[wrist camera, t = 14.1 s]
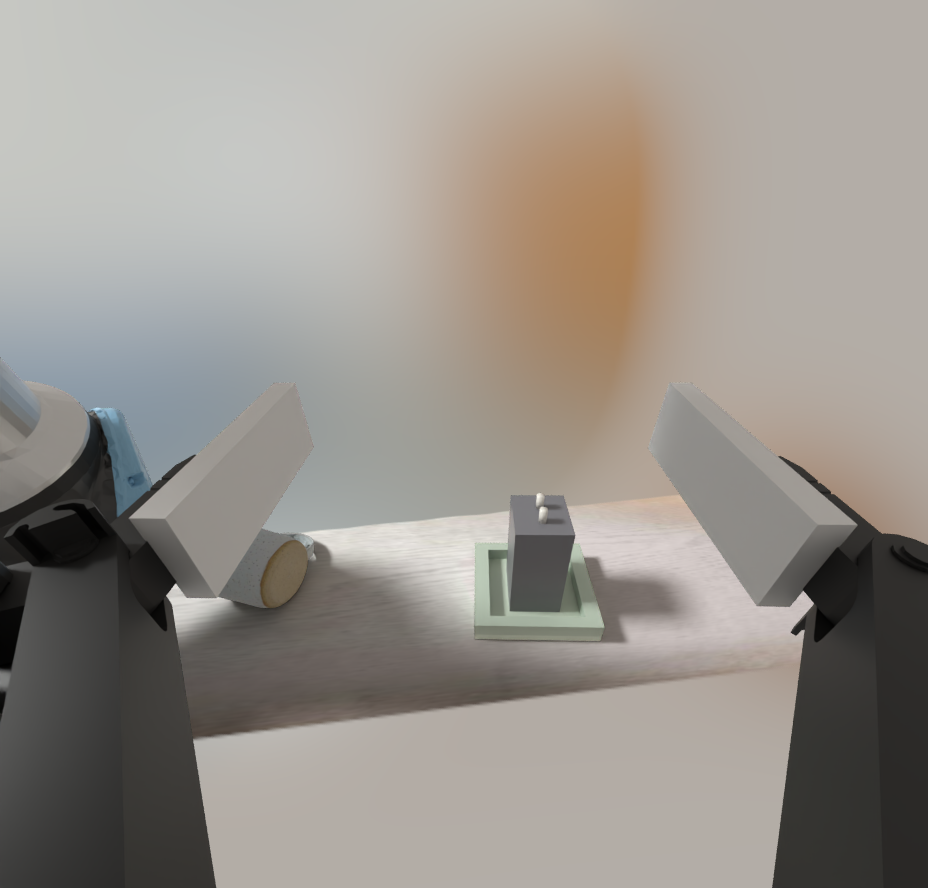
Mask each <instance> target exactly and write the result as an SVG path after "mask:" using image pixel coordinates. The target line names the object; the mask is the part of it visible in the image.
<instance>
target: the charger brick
mask: <svg viewBox="0 0 928 888" xmlns="http://www.w3.org/2000/svg"><path fill="white" fill-rule="evenodd" d="M574 539H575V533H574V529H573V526H572V523H571V519H570V516H569V512H568V509H567V506H566V502H565V499H564V496H545V495H544V494H543V493H538V494H537V496H530V495H528V496H523V495H518V496H517V495H511V501H510V517H509V533H508V550H507V566H506V573H507V586H508V598H509V611H516V612H560V608H561V603H562V598H563V593H564V588H565V583H566V578H567V573H568V568H569V563H570V559H571V554H572V549H573V544H574Z"/></svg>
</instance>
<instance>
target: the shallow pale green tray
mask: <svg viewBox="0 0 928 888" xmlns="http://www.w3.org/2000/svg"><path fill="white" fill-rule="evenodd" d="M507 550H508V543H475V620H474V628H475V639H501V640H559V641H601V638H602V634H603V631H604V628H605V627H604V623H603V620H602V617H601V613H600V610H599V607H598V603H597V600H596V597H595V594H594V590H593V587H592V584H591V580H590V577H589V574H588V570H587V567H586V564H585V560H584V557H583V554H582V550H581V547H580V544H573V549H572V554H571V559H570V563H569V568H568V573H567V578H566V583H565V588H564V593H563V598H562V603H561V608H560V612H516V611H509V598H508V586H507V573H506V566H507Z"/></svg>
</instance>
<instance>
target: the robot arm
mask: <svg viewBox="0 0 928 888" xmlns="http://www.w3.org/2000/svg"><path fill="white" fill-rule="evenodd" d="M313 447H314V446H313V442H312V439H311V435H310V432H309V428H308V425H307V422H306V418H305V415H304V411H303V408H302V404H301V401H300V397H299V394H298V391H297V387H296V384H295V383H273V384H272V385H271V386H270V387H269V388H268V389H267V390H266V391H265V392H264V393H263V394H262V395H261V396H259V398H258V399H256V400H255V401H254V402H253V403H252V404H251V405H250V406H249V407H248V408H247V409H246V410H245V411H243V412H242V413H241V414H240V415H239V416H238V417H237V418H236V419H235V420H234V421H233V422H232V423H231V424H229V425H228V426H227V427H226V428H225V429H224V430H223V431H222V432H221V433H220V434H219V435H218V436H217V437H216V438H214V439H213V440H212V441H211V442H210V443H209V444H208V445H207V446H206V447H205V448H204V449H203V450H201V451H200V452H199V453H198V454H197V455H193V456H191V457H189V458H188V459H186V460H184V461H182V462H181V463H179V464H177V465H175V466H174V467H173V468H172V469H171V470H170V471H169V472H168V473H166V474H165V475H164V476H163V477H162V480H159V481H157V482H156V483H155V484H154V485H152V482H151V479H150V477H149V474H148V471H147V469H146V466H145V464H144V461H143V459H142V456H141V454H140V452H139V449H138V447H137V444H136V442H135V440H134V437H133V434H132V432H131V430H130V427H129V425H128V423H127V421H126V419H125V417H124V415H123V414H122V413H121V412H120V410H118V409H114V408H103V409H101V408H94V409H91V410H89V412H87V411H86V410H85V409H84V408H83V406H82V405H81V404H80V403H79V402H78V401H77V400H76V399H75V398H74V397H72V396H71V395H69V394H68V393H66V392H64V391H62V390H60V389H57V388H55V387H52V386H49V385H45V384H41V383H36V382H30V381H22V380H21V379H20V378H19V377H18V376H17V375H16V374H15V372H14V371H13V370H12V369H11V368H10V367H9V366H8V365H7V364H6V363H5V362H4V361H3V360H2V359H1V357H0V888H216V884H215V878H214V871H213V865H212V858H211V853H210V845H209V839H208V833H207V826H206V820H205V813H204V807H203V801H202V794H201V788H200V782H199V775H198V769H197V762H196V756H195V750H194V744H193V737H192V730H191V724H190V718H189V711H188V705H187V698H186V692H185V686H184V679H183V673H182V667H181V660H180V654H179V647H178V641H177V635H176V628H175V622H174V615H173V609H172V604H171V603H170V601H169V599H168V598H167V597H166V595H167V594H168V592H169V591H170V590H171V588H172V587H173V586H174V585H175V583H176V584H177V585H178V587H179V588H180V589H181V591H182V592H183V593H184V595H185V596H186V598H217V597H218V596H219V594H220V593H221V591H222V589H223V588H224V586H225V585H226V583H227V582H228V580H229V578H230V577H231V575H232V574H233V572H234V571H235V569H236V568H237V566H238V564H239V563H240V561H241V560H242V558H243V557H244V555H245V554H246V552H247V550H248V549H249V547H250V546H251V544H252V543H253V541H254V539H255V538H256V536H257V535H258V533H259V532H260V530H261V529H262V527H263V525H264V524H265V522H266V521H267V519H268V518H269V516H270V515H271V513H272V511H273V510H274V508H275V507H276V505H277V504H278V502H279V500H280V499H281V497H282V496H283V494H284V493H285V491H286V490H287V488H288V486H289V485H290V483H291V482H292V480H293V479H294V477H295V475H296V474H297V472H298V471H299V469H300V468H301V466H302V465H303V463H304V461H305V460H306V458H307V457H308V455H309V454H310V452H311V451H312V449H313ZM648 449H649V450H650V452H651V453H652V455H653V456H654V457H655V459H656V460H657V462H658V463H659V464H660V466H661V468H662V469H663V471H664V472H665V473H666V475H667V476H668V478H669V479H670V481H671V482H672V484H673V485H674V487H675V488H676V489H677V491H678V492H679V494H680V495H681V497H682V498H683V500H684V501H685V503H686V504H687V505H688V507H689V508H690V510H691V511H692V513H693V514H694V516H695V517H696V518H697V520H698V521H699V523H700V524H701V526H702V527H703V529H704V530H705V532H706V533H707V534H708V536H709V537H710V539H711V540H712V542H713V543H714V545H715V546H716V547H717V549H718V550H719V552H720V553H721V555H722V556H723V558H724V559H725V561H726V562H727V563H728V565H729V566H730V568H731V569H732V571H733V572H734V574H735V575H736V577H737V578H738V579H739V581H740V582H741V584H742V585H743V587H744V588H745V590H746V591H747V592H748V594H749V595H750V597H751V598H752V600H753V601H754V603H755V604H756V606H776V607H790V606H791V605H792V603H793V602H794V601H795V600H796V599H797V597H798V596H799V595H800V594H801V593H802V591H804V592H805V593H806V594H807V595H808V597H809V598H810V599H811V600H812V601H813V603H814V605H813V606H812V607H811V608H810V609H809V611H808V612H807V613H806V614H805V615H804V616H803V617H802V618H801V620H800V621H799V622H798V623H797V624H796V625H795V626H794V628H793V629H792V631H791V633H792V634H794V635H796V636H797V634H798V633H799V632H800V631H801V630H805V632H804V640H803V648H802V656H801V664H800V672H799V680H798V688H797V696H796V703H795V711H794V719H793V728H792V736H791V743H790V751H789V759H788V768H787V775H786V783H785V791H784V799H783V807H782V815H781V822H780V831H779V839H778V846H777V854H776V862H775V870H774V878H773V887H772V888H928V545H926V544H924V543H921V542H919V541H917V540H915V539H911V538H908V537H904V536H901V535H895V534H882V533H880V532H879V531H878V530H877V529H875V528H874V527H873V526H872V525H871V524H869V523H868V522H867V521H866V520H865V519H863V518H862V517H861V516H860V515H858V514H857V513H856V512H855V511H854V510H852V509H851V508H850V507H849V506H848V505H846V504H845V503H844V502H843V501H841V500H840V499H839V498H838V497H837V496H836V495H834V494H831V492H830V490H828V489H827V488H826V487H825V486H824V485H822V484H821V483H818V482H817V480H816V479H815V478H814V477H813V476H811V475H810V474H809V473H808V472H806V471H805V470H804V469H803V468H802V467H800V466H798V465H796V464H794V463H792V462H790V461H789V460H787V459H785V458H783V457H781V456H777V455H776V454H774V453H773V452H772V451H771V450H770V449H768V448H767V447H766V446H765V445H764V444H763V443H762V442H760V441H759V440H758V439H757V438H756V437H755V436H753V435H752V434H751V433H750V432H749V431H748V430H746V429H745V428H744V427H743V426H742V425H740V424H739V423H738V422H737V421H736V420H735V419H734V418H732V417H731V416H730V415H729V414H728V413H727V412H725V411H724V410H723V409H722V408H721V407H720V406H718V405H717V404H716V403H715V402H714V401H713V400H711V399H710V398H709V397H708V396H707V395H706V394H704V393H703V392H702V391H701V390H700V389H699V388H698V387H696V386H695V385H694V384H693V383H669V386H668V389H667V392H666V395H665V398H664V401H663V404H662V407H661V410H660V413H659V416H658V419H657V423H656V425H655V428H654V431H653V435H652V438H651V441H650V444H649V447H648Z"/></svg>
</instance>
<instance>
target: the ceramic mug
mask: <svg viewBox="0 0 928 888" xmlns="http://www.w3.org/2000/svg"><path fill="white" fill-rule="evenodd" d="M313 552H314V541H313V539H312V538H311V537H309V536H307V535H304V534H301V533H280V534H279V533H274V532H271V531H268V530H265V529H261V530H260V532H259V533H258V535H257V536H256V538H255V539H254V541H253V543H252V544H251V546H250V547H249V549H248V550H247V552H246V554H245V555H244V557H243V558H242V560H241V561H240V563H239V564H238V566H237V568H236V569H235V571H234V572H233V574H232V575H231V577H230V578H229V580H228V582H227V583H226V585H225V586H224V588H223V589H222V591H221V593H220V594H219V596H218V597H221V598H224V599H228V600H232V601H237V602H241V603H245V604H248V605H251V606H255V607H260V608H275V607H279V606H281V605H283V604H284V603H286V602H287V601H288V600H289V599H290V598H291V597H292V596H293V595H294V594H295V593H296V592H297V590H298V589H299V587H300V585H301V583H302V582H303V579H304V577H305V574H306V570H307V565H308V559H310V557H311V556H312V555H313Z"/></svg>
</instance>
